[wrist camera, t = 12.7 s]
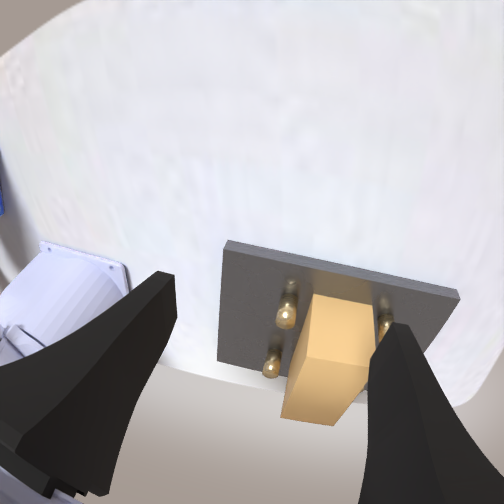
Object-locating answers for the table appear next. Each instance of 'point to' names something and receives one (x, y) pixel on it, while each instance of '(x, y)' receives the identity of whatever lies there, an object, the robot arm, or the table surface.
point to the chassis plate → (298, 301)
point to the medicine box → (1, 204)
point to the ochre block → (329, 360)
